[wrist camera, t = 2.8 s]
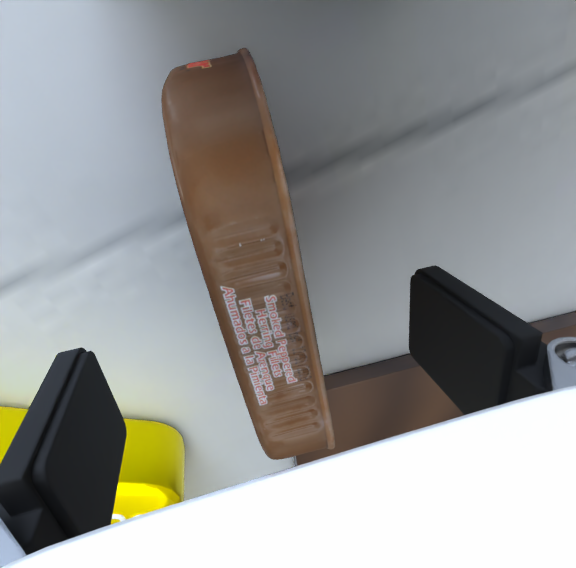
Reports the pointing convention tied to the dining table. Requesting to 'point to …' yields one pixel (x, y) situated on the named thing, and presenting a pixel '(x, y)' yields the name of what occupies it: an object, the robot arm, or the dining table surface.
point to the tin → (248, 247)
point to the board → (397, 397)
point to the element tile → (131, 464)
